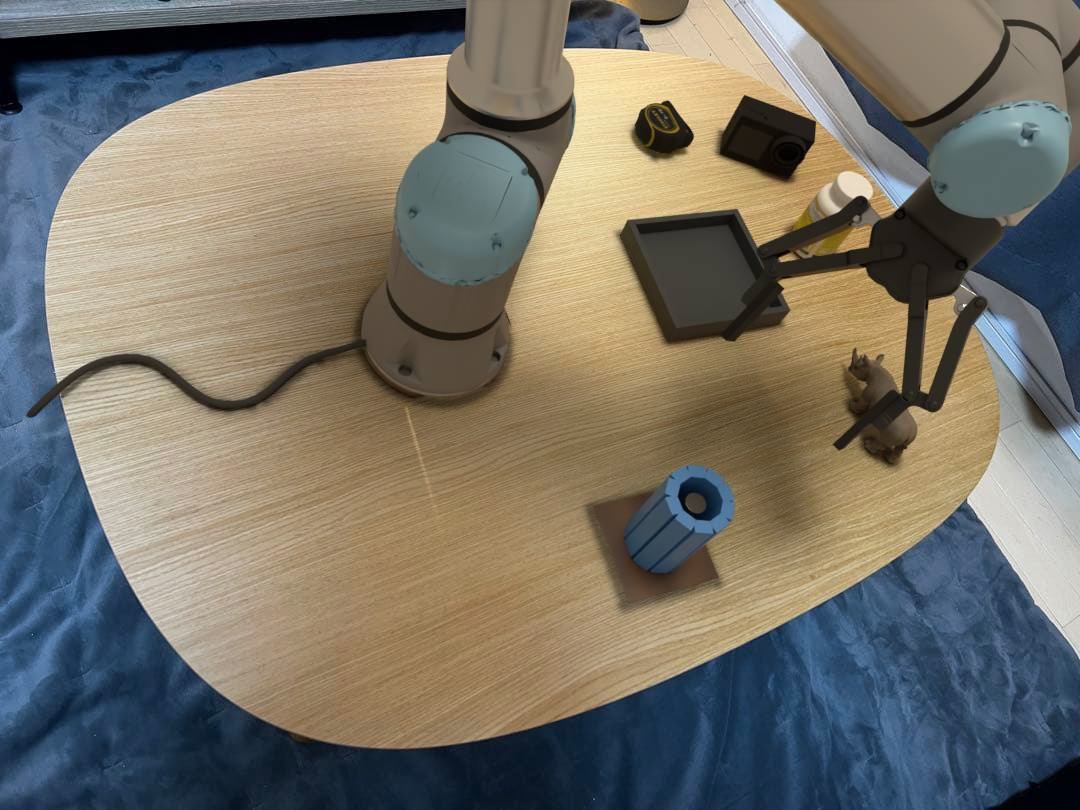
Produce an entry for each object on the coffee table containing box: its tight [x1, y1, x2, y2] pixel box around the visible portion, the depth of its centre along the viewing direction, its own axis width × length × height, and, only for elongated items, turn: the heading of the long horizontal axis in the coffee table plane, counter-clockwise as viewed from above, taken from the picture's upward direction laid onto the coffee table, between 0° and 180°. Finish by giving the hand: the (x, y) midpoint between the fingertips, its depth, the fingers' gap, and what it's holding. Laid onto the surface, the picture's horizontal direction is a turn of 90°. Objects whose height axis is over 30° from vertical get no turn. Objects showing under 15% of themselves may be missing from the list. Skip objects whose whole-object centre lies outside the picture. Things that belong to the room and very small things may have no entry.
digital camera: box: [719, 94, 817, 179], centre depth 113 cm, size 10×5×7 cm, turn 77°
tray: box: [619, 208, 792, 342], centre depth 101 cm, size 16×16×3 cm
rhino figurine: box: [847, 346, 918, 464], centre depth 96 cm, size 4×14×6 cm, turn 12°
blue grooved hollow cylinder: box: [624, 464, 736, 574], centre depth 78 cm, size 6×7×11 cm
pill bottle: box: [789, 170, 874, 259], centre depth 105 cm, size 6×6×11 cm
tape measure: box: [634, 99, 695, 155], centre depth 111 cm, size 7×7×4 cm
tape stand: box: [592, 491, 720, 604], centre depth 79 cm, size 10×10×11 cm
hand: (780, 391), depth 75 cm, fingers open, 13 cm apart
